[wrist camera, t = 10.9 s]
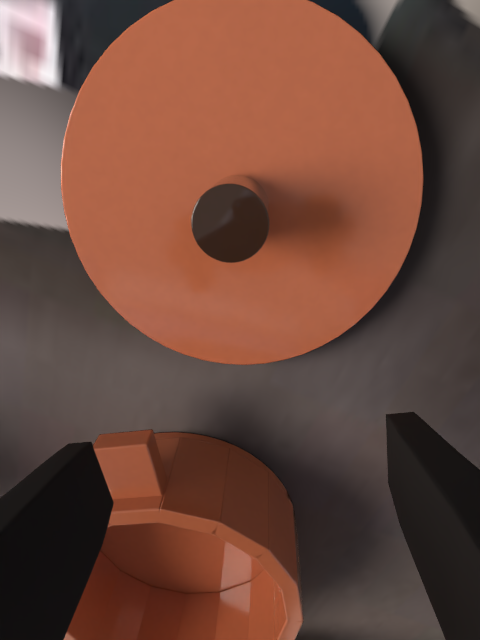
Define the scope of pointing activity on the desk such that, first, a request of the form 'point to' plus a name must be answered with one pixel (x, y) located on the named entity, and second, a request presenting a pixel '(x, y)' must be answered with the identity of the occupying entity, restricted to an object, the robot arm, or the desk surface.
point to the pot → (191, 545)
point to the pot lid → (242, 177)
